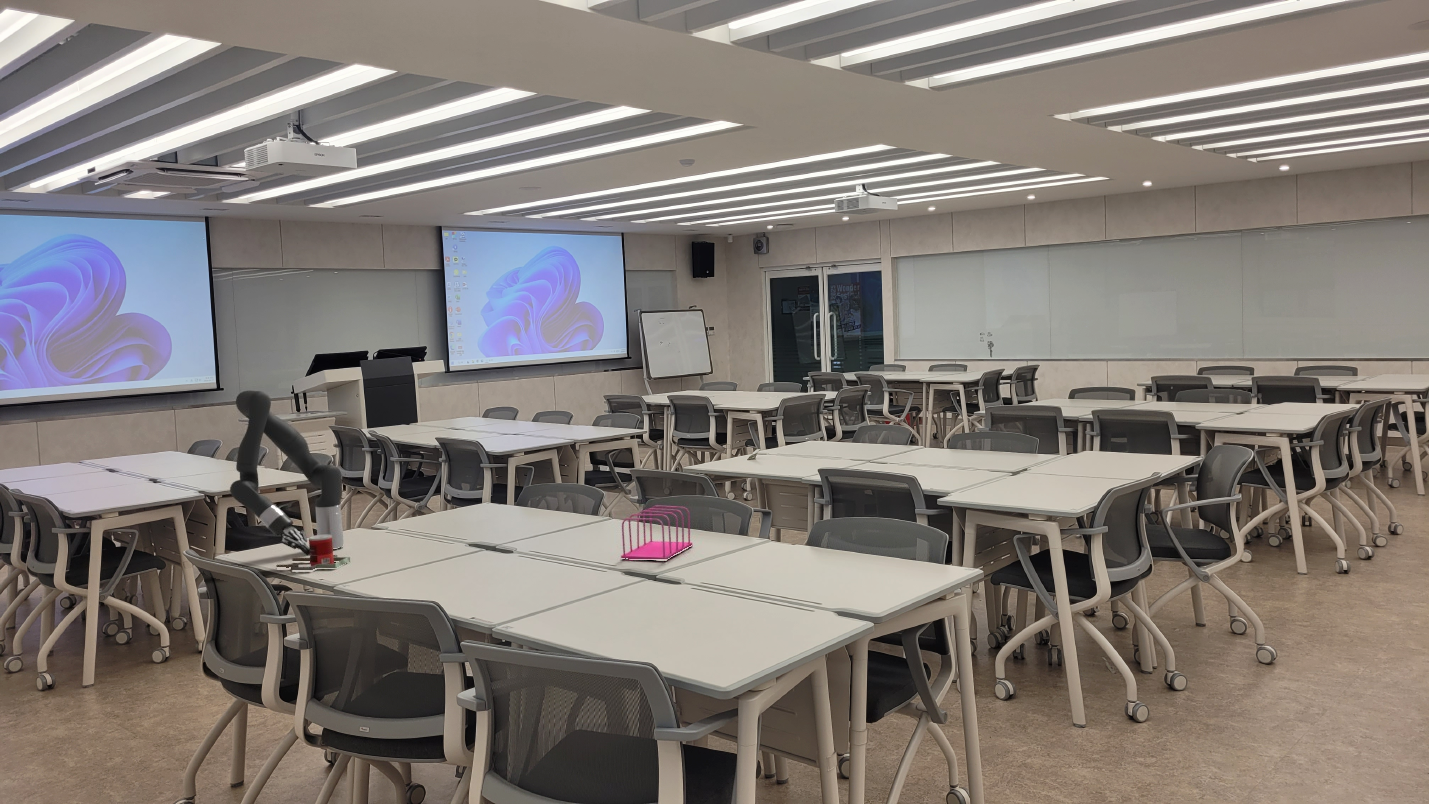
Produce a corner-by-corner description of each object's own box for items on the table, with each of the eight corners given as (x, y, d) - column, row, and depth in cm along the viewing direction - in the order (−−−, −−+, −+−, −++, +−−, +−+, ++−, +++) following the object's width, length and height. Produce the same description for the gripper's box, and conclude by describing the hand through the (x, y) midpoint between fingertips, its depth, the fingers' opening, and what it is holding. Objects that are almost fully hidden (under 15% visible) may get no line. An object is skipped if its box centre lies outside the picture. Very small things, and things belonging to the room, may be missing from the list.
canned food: (337, 563, 355) (335, 534, 354) (327, 568, 347) (325, 538, 346) (317, 564, 356) (315, 534, 355) (306, 569, 348) (304, 538, 347)
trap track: (298, 560, 363) (298, 555, 363) (355, 559, 360) (354, 554, 360) (270, 573, 344) (270, 567, 344) (329, 572, 342) (329, 566, 342)
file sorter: (692, 547, 360) (691, 505, 359) (665, 562, 337) (663, 518, 336) (650, 545, 366) (648, 504, 365) (620, 560, 343) (618, 516, 342)
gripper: (272, 516, 345) (307, 550, 345) (292, 510, 358) (325, 542, 358) (259, 531, 346) (293, 565, 346) (279, 524, 359) (313, 556, 359)
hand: (310, 553), depth 352 cm, fingers closed
